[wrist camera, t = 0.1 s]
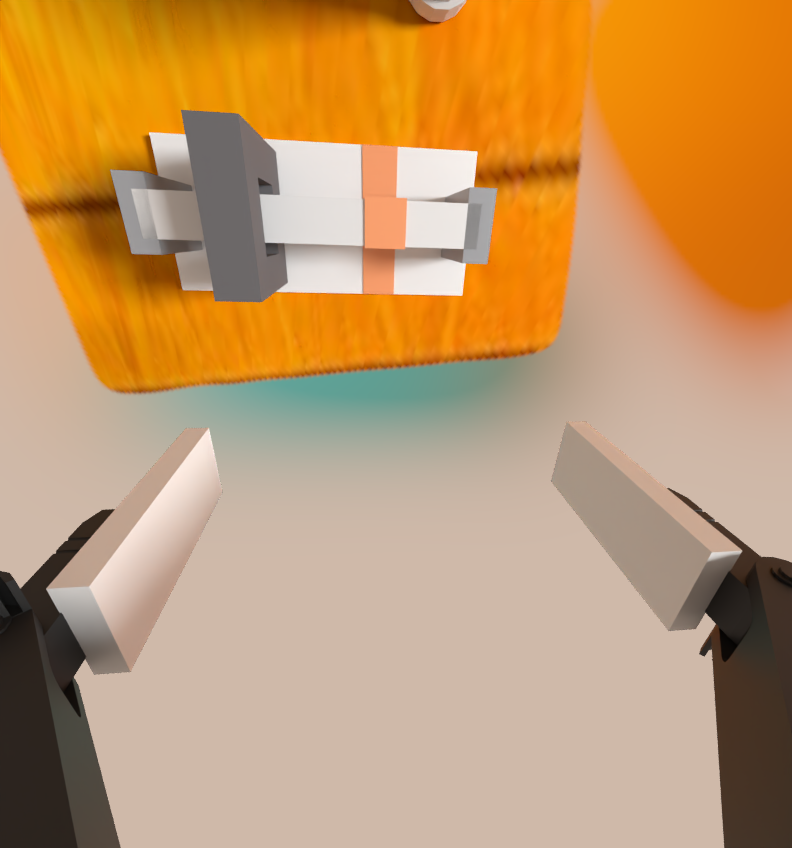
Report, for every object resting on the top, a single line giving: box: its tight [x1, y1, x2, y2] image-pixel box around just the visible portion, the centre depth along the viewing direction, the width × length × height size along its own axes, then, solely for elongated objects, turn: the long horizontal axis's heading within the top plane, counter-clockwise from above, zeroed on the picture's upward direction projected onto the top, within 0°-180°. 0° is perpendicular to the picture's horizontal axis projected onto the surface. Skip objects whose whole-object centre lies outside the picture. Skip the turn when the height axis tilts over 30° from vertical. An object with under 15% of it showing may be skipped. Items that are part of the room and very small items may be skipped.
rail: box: [110, 132, 497, 296], centre depth 31 cm, size 12×27×9 cm, turn 88°
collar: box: [181, 110, 288, 302], centre depth 28 cm, size 10×3×11 cm, turn 178°
